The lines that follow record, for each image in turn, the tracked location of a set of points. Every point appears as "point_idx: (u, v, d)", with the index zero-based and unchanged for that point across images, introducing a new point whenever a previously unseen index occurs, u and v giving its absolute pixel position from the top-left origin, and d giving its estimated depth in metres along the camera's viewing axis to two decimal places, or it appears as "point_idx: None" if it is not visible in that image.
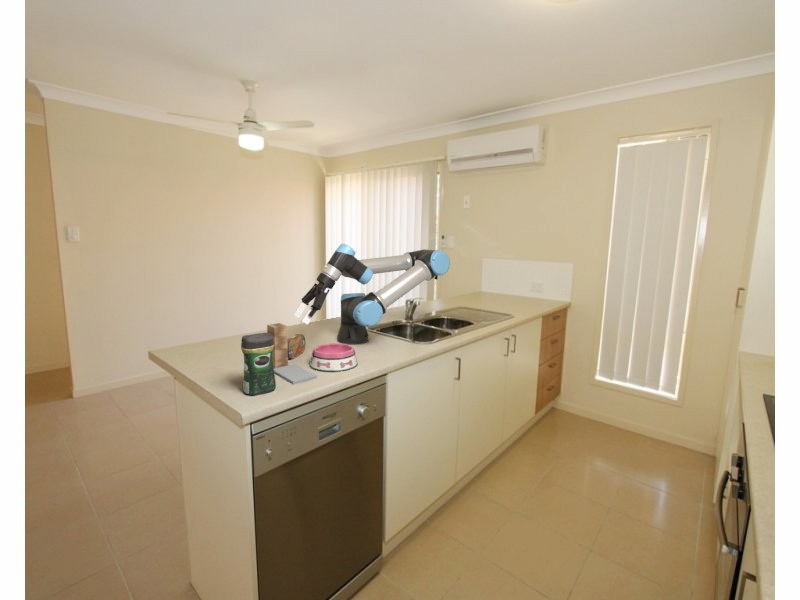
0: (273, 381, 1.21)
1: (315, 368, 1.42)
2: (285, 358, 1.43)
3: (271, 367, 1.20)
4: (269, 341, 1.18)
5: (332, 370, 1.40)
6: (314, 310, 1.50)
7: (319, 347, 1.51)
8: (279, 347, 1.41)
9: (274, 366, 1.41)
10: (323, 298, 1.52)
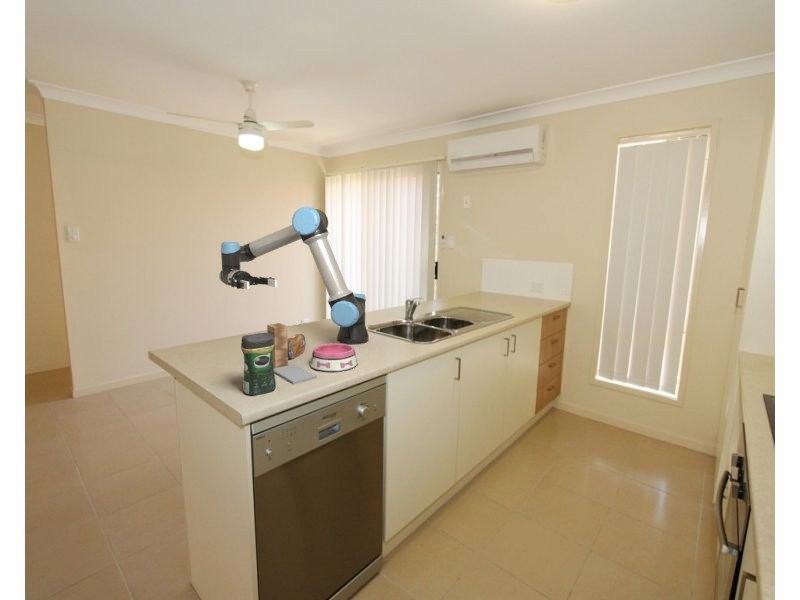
0: (273, 381, 1.21)
1: (315, 368, 1.41)
2: (285, 358, 1.43)
3: (271, 367, 1.20)
4: (269, 341, 1.18)
5: (332, 370, 1.40)
6: (237, 283, 1.48)
7: (319, 347, 1.50)
8: (279, 347, 1.41)
9: (274, 366, 1.41)
10: None
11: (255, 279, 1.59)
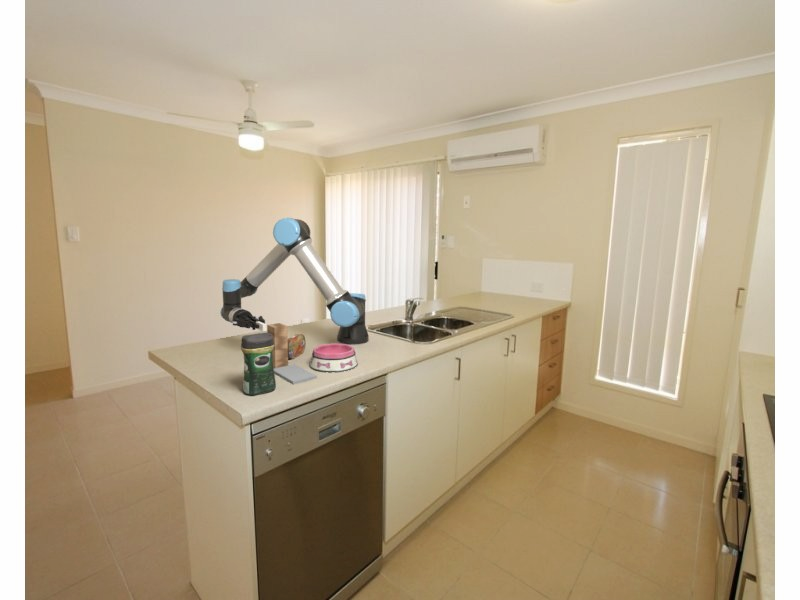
0: (273, 381, 1.21)
1: (315, 368, 1.41)
2: (285, 358, 1.43)
3: (271, 367, 1.20)
4: (269, 341, 1.18)
5: (332, 370, 1.39)
6: (253, 325, 1.53)
7: (319, 347, 1.50)
8: (279, 347, 1.41)
9: (274, 366, 1.41)
10: (240, 322, 1.55)
11: (251, 319, 1.60)
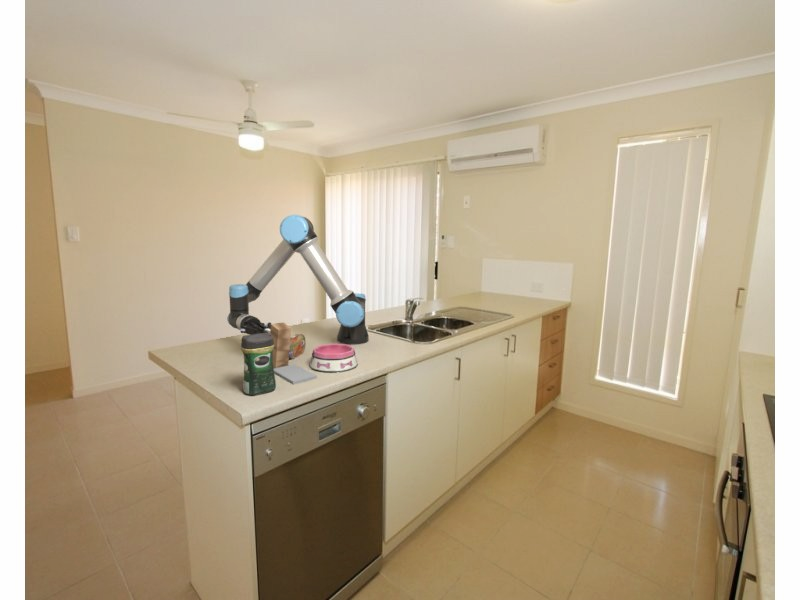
0: (273, 381, 1.21)
1: (315, 369, 1.41)
2: (286, 359, 1.42)
3: (271, 367, 1.20)
4: (269, 341, 1.18)
5: (332, 371, 1.39)
6: (262, 332, 1.46)
7: (319, 348, 1.50)
8: (281, 348, 1.40)
9: (274, 366, 1.41)
10: (248, 329, 1.48)
11: (260, 326, 1.53)
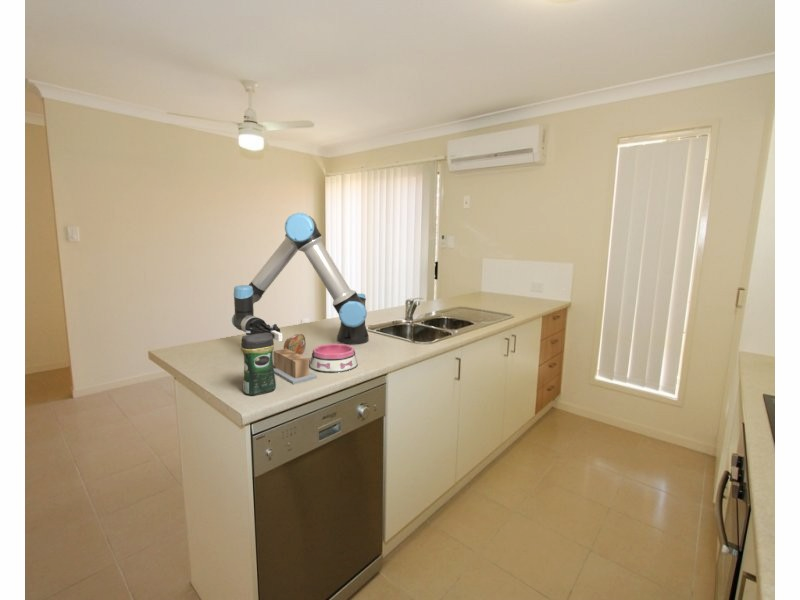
0: (273, 381, 1.21)
1: (315, 369, 1.41)
2: None
3: (271, 367, 1.20)
4: (269, 341, 1.18)
5: (332, 371, 1.39)
6: None
7: (319, 348, 1.50)
8: None
9: (275, 365, 1.40)
10: (254, 331, 1.46)
11: (266, 328, 1.50)
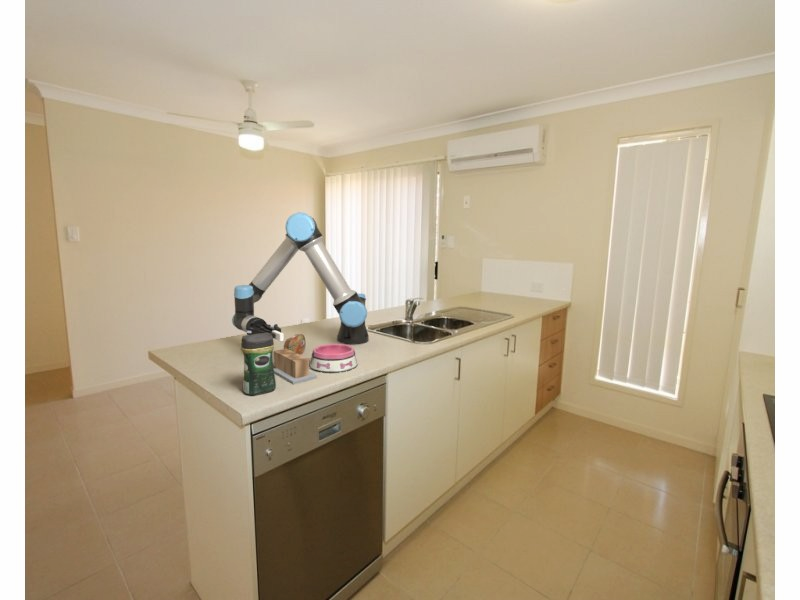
0: (273, 381, 1.21)
1: (315, 369, 1.41)
2: None
3: (271, 367, 1.20)
4: (269, 341, 1.18)
5: (332, 371, 1.39)
6: None
7: (319, 348, 1.50)
8: None
9: (275, 365, 1.40)
10: (255, 331, 1.45)
11: (266, 328, 1.50)
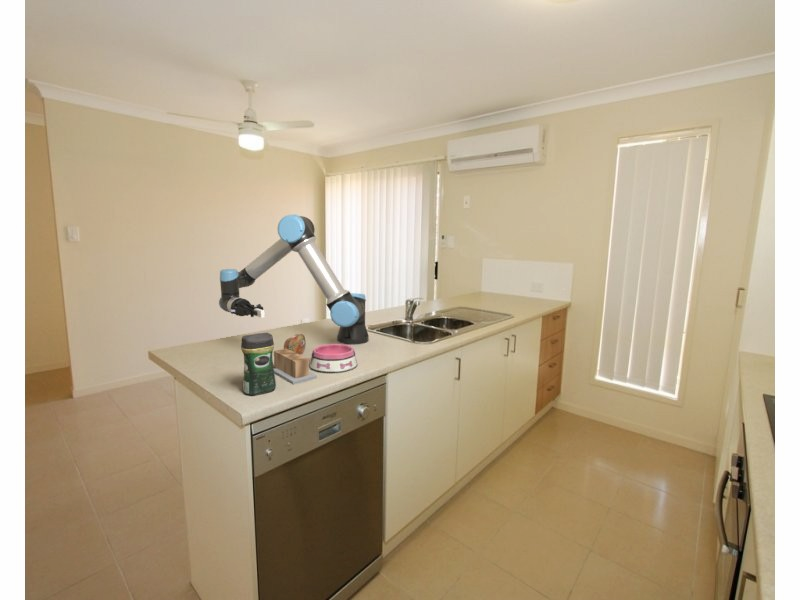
0: (273, 381, 1.21)
1: (315, 369, 1.40)
2: None
3: (271, 367, 1.20)
4: (269, 341, 1.18)
5: (332, 371, 1.39)
6: (251, 312, 1.52)
7: (319, 348, 1.49)
8: None
9: (275, 365, 1.40)
10: (238, 310, 1.54)
11: (250, 307, 1.59)
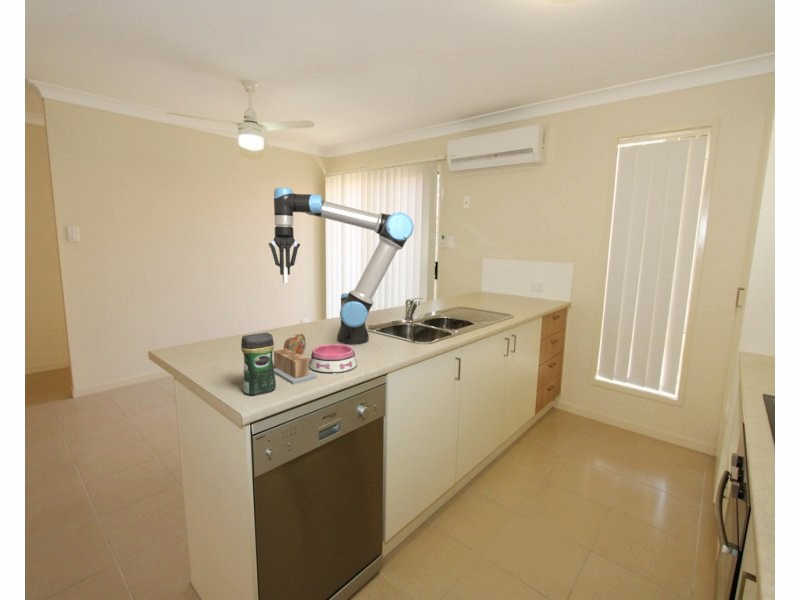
0: (273, 381, 1.21)
1: (314, 369, 1.40)
2: None
3: (271, 367, 1.20)
4: (269, 341, 1.18)
5: (332, 371, 1.38)
6: (280, 268, 1.61)
7: (318, 348, 1.49)
8: None
9: (275, 365, 1.40)
10: (273, 254, 1.58)
11: (286, 250, 1.60)
